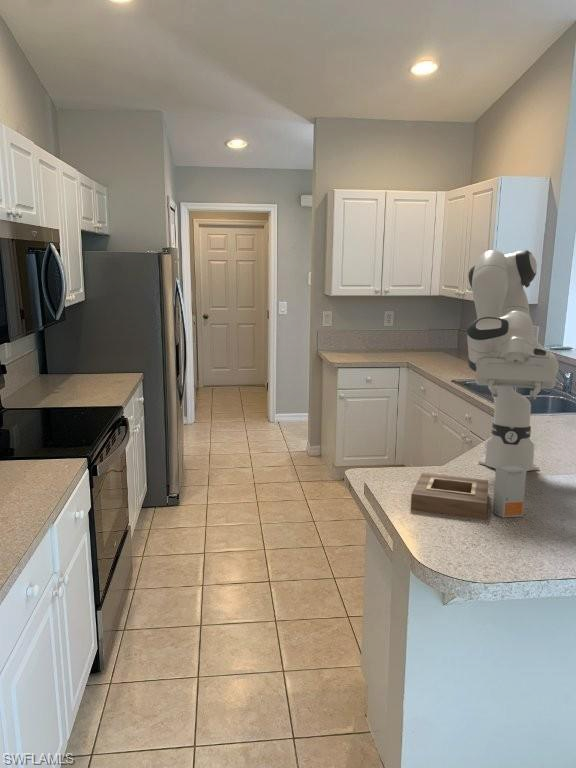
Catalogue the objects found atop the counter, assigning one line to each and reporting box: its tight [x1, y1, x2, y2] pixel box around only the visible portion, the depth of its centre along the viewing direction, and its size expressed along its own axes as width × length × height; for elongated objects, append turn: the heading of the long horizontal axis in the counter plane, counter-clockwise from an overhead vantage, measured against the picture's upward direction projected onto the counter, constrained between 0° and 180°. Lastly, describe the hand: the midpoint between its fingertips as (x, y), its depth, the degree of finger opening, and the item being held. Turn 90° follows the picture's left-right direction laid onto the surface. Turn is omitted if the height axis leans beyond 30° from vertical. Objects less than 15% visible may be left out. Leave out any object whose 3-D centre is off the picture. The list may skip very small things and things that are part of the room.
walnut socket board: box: [410, 472, 489, 520], centre depth 152 cm, size 22×18×4 cm
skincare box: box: [492, 466, 528, 519], centre depth 143 cm, size 6×4×12 cm
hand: (513, 396), depth 151 cm, fingers open, 8 cm apart
